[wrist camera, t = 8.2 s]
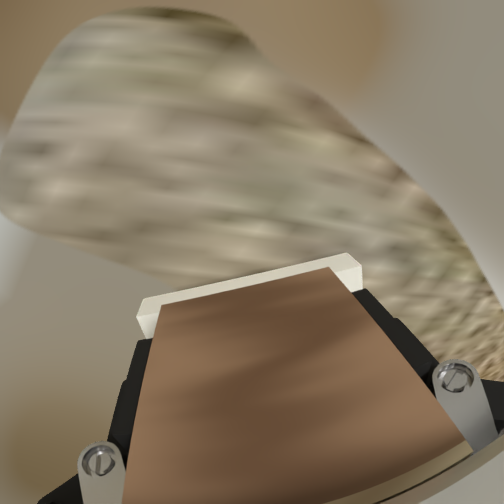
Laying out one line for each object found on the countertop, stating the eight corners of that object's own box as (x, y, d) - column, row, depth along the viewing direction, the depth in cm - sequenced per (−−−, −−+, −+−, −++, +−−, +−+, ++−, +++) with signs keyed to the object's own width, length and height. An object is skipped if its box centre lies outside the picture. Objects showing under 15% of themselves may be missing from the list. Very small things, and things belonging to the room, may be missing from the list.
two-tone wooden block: (328, 266, 11) (473, 450, 3) (334, 342, 12) (425, 511, 4) (161, 305, 10) (118, 534, 3) (190, 375, 12) (191, 566, 4)
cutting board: (346, 252, 17) (361, 265, 15) (350, 391, 21) (359, 408, 20) (143, 298, 17) (136, 316, 15) (202, 425, 21) (202, 445, 19)
